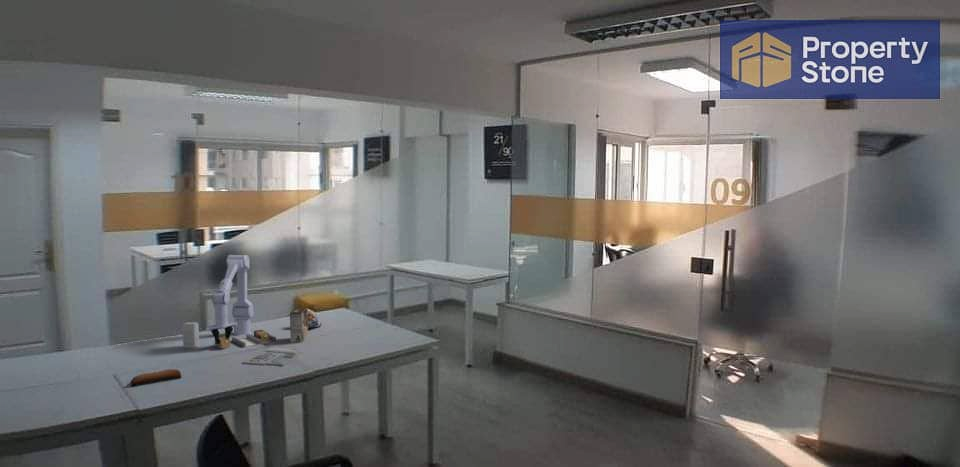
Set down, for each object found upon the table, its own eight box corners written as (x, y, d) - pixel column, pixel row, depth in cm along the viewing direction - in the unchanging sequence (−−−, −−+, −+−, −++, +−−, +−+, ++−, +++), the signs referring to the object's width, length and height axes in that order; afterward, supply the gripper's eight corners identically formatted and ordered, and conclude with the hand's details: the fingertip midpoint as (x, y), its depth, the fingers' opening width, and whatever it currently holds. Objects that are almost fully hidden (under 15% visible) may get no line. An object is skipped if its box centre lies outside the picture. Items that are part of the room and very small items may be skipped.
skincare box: (199, 345, 283) (198, 322, 282) (194, 348, 279) (193, 324, 278) (188, 345, 284) (187, 322, 283) (182, 347, 280) (182, 324, 279)
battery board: (231, 342, 290) (231, 337, 290) (263, 336, 302) (263, 331, 302) (243, 348, 280) (243, 343, 279) (275, 342, 291) (275, 337, 291)
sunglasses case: (177, 372, 244) (178, 361, 241) (180, 384, 239) (181, 373, 236) (129, 381, 233) (129, 369, 230) (131, 394, 229) (131, 382, 225)
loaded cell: (253, 338, 295) (253, 330, 295) (261, 337, 298) (261, 329, 298) (261, 342, 288) (261, 334, 288) (269, 340, 291) (269, 333, 291)
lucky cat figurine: (326, 325, 325) (325, 307, 318) (312, 337, 316) (310, 319, 308) (306, 315, 330) (304, 297, 323) (291, 327, 321) (289, 309, 314)
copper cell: (214, 344, 283) (214, 336, 283) (223, 342, 286) (222, 335, 286) (222, 348, 277) (221, 340, 276) (230, 347, 279) (230, 339, 279)
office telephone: (270, 345, 279) (307, 348, 275) (270, 350, 279) (307, 353, 275) (242, 359, 257) (281, 362, 253) (242, 364, 257) (282, 368, 253)
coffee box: (296, 338, 298) (295, 308, 297) (308, 338, 298) (307, 308, 297) (290, 343, 289) (289, 312, 288) (302, 343, 289) (302, 312, 287)
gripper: (209, 320, 272) (210, 347, 274) (239, 315, 282) (240, 341, 284) (203, 317, 277) (204, 344, 279) (233, 312, 287) (234, 338, 289)
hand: (222, 342), depth 281 cm, fingers closed on copper cell, 4 cm apart
